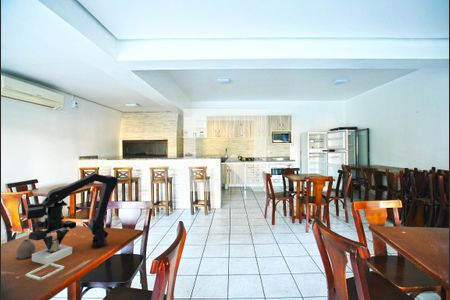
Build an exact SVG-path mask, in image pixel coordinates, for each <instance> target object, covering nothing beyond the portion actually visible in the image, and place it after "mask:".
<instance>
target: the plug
mask: <svg viewBox="0 0 450 300" xmlns="http://www.w3.org/2000/svg"><path fill="white" fill-rule="evenodd" d="M56 251H59V238H57V237H55V238H52V244H51V248H50V249H48V253H51V254H52V253H54V252H56Z"/></svg>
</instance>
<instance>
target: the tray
mask: <svg viewBox="0 0 450 300" xmlns="http://www.w3.org/2000/svg"><path fill="white" fill-rule="evenodd" d="M49 266H52V267H55V268H56V269H55V270H54V271H52V272H49V273H47V274H46V275H44V276H42V277H40V276H36V275H34V273H36V272H38V271H40V270H43V269H44V268H47V267H49ZM65 268H66V266H65V265H61V264H56V263H54V262H53V263H48V264H46V265H45V264H43V265H42V266H40V267H37V268H36V269H33V270H32V271H29V272H27V273H25V274H24V277H26V278H27V277H28V278H30V279H34V280H37V281H40V282H41V281H43V280H45V279H47V278H48V277H51V276H52V275H54V274H57V273H58V272H60V271H62V270H64V269H65Z"/></svg>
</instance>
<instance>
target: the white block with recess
mask: <svg viewBox="0 0 450 300" xmlns="http://www.w3.org/2000/svg"><path fill="white" fill-rule="evenodd" d="M72 254H73V247H72V246H69V245H64V244H62V243H60V245H59V251H56V252H54V253H52V254H51V253H48V249H47V247H45V248H44V249H42V250H39V251H37V252H36V251H35V253H33V254H32V257H31V262H34V263H38V264H42V265H46V264H48V263H53V264H54V263H55V262H58V261H59V260H61V259H63V258H65V257H67V256H70V255H72Z"/></svg>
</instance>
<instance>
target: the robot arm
mask: <svg viewBox="0 0 450 300" xmlns="http://www.w3.org/2000/svg"><path fill="white" fill-rule="evenodd" d="M94 182H98V183H101V184H102V193H101V196H100V200H99V202H98V206H97V209H96V212H95V216H94V217H93V218H90V219H89V224H88V225H87V227H88V230H89V232H90V233H91V234H92V235H93V237H92V243H91V249H96V250H97V249H99V248H104V247H105V246H109V243H107V239H108V238H107V237H108V235H109V232H108V231H107V230H106V229H105V215H106V212H107V209H108V205H109V202H110V198H111V195H112V193H113V191H114V190H115V188H116V186H117V184H118V178H117V177H116V176H113V175H111V174H110V175H109V174H108V175H102V174H99V173H95V172H92V173H90V174H89V175H87V176H85V177H82V178H80V179H78V180H77V181H74V182H72V183H69V184H67V185H65V186H59V187H57V188H54V189H51V190H49V191H48V192H47V195H46V197H45V199H44V200H42V202H40V203H28V204H27V210H26V220H27V221H28V220H29V221H30V220H35V219H42V218H44V217H45V219H44V221H41V220H38V221H34V224H33V228H34V229H38V230H35V231H31V232H30V233H29V234H28V239H30V240H31V241H38V242H39V241H41V240H42V241H43V242H44V243H45V244H44V245H45V246H46V248H47V249H50V248H51V244H52V239H53V235H51V234H52V233H56V238H59V245H60V244H62V241H63V240H64V238H65V236H66V235H67V233H69V232H70V230H73V229H75V228H76V227H77V222H75V221H71V220H66V221H64V222H63V220H65V217H64V216H63V207H65V206H68V203H67V202H66V201H65V199H66V198H67V197H69V196H70V195H71V194H72V193H75V192H76V191H78V190H80V189H82V188H84V187H86V186H88V185H90V184H93V183H94ZM46 215H47V217H46ZM69 229H70V230H69Z"/></svg>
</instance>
